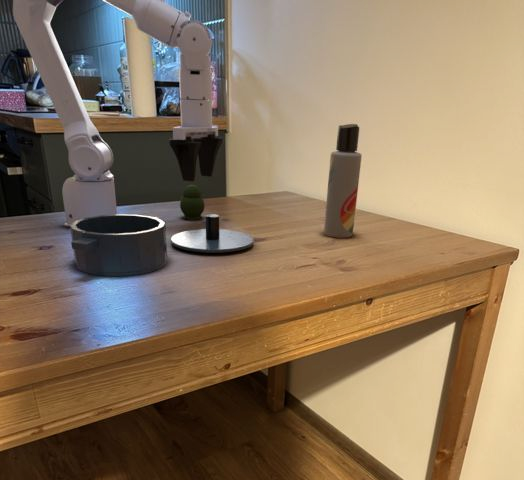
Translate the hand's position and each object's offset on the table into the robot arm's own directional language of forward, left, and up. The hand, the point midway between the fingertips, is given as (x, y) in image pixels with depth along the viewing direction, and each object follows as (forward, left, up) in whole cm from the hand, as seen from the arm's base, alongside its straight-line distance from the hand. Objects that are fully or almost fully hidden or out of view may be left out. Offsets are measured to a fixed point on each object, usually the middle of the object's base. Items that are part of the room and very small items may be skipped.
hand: (197, 178), depth 96 cm
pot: (0, -27, -9) cm, 29 cm away
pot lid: (+8, -11, -9) cm, 16 cm away
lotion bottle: (+27, +7, -10) cm, 30 cm away
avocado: (-5, +7, -9) cm, 13 cm away
